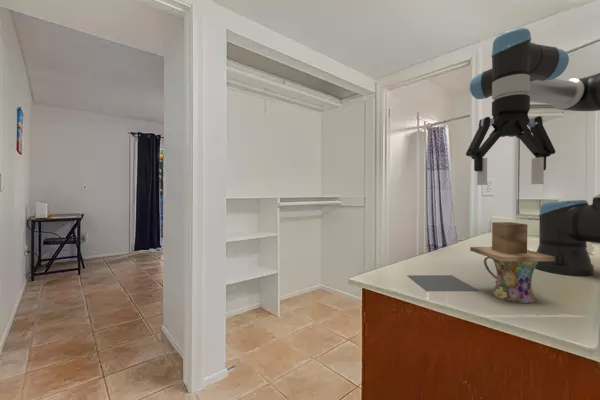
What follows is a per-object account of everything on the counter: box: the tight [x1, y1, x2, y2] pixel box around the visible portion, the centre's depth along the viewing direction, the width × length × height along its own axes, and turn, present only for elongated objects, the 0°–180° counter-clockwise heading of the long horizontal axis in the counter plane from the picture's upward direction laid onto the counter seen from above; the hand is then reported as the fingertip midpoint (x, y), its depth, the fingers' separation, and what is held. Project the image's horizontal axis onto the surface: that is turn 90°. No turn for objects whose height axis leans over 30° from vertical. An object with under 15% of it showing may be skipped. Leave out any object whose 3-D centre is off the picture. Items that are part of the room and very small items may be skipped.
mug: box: [483, 256, 538, 304], centre depth 70 cm, size 12×9×11 cm
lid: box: [469, 221, 555, 261], centre depth 70 cm, size 12×12×8 cm
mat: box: [406, 274, 480, 292], centre depth 81 cm, size 14×14×1 cm
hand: (509, 184), depth 70 cm, fingers open, 13 cm apart
